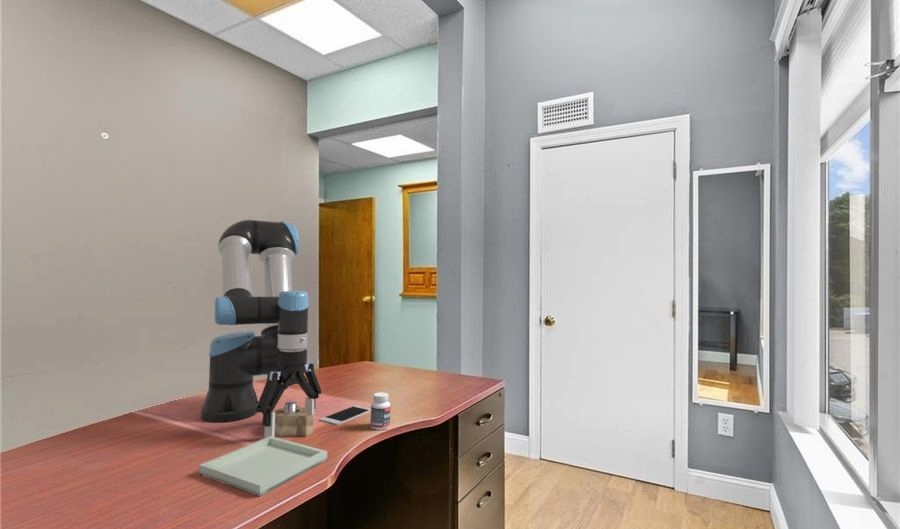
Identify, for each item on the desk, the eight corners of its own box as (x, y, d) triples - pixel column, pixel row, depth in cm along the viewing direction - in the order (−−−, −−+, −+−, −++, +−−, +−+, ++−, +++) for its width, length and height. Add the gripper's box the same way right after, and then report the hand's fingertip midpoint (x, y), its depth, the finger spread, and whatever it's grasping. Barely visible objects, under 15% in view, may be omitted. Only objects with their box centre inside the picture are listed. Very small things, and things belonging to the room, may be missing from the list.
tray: (199, 474, 90) (199, 464, 90) (270, 444, 106) (270, 436, 106) (260, 496, 82) (260, 485, 82) (327, 460, 98) (327, 451, 98)
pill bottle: (385, 431, 116) (386, 397, 116) (367, 429, 117) (368, 396, 117) (392, 424, 121) (393, 392, 121) (374, 422, 122) (375, 391, 122)
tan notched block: (267, 432, 113) (267, 413, 113) (290, 423, 120) (291, 404, 121) (297, 440, 108) (298, 420, 109) (320, 430, 116) (321, 411, 116)
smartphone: (318, 421, 123) (318, 418, 123) (355, 407, 137) (355, 404, 137) (337, 426, 120) (337, 423, 120) (373, 411, 133) (373, 408, 133)
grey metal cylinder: (282, 431, 114) (282, 403, 115) (290, 427, 117) (291, 400, 117) (289, 432, 113) (290, 405, 113) (297, 429, 116) (298, 402, 116)
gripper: (263, 358, 103) (260, 449, 102) (335, 344, 125) (333, 418, 124) (241, 355, 106) (239, 443, 106) (315, 341, 128) (313, 414, 128)
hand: (290, 429), depth 115 cm, fingers open, 13 cm apart
